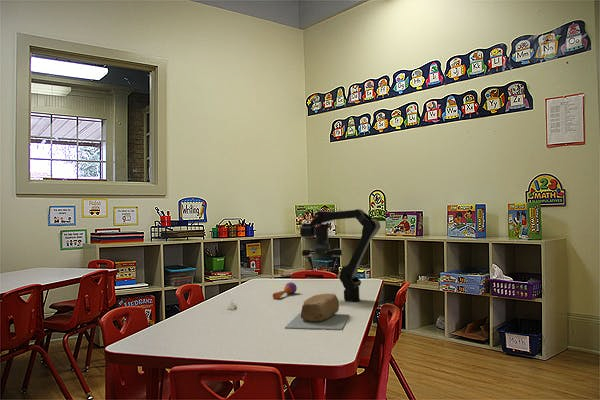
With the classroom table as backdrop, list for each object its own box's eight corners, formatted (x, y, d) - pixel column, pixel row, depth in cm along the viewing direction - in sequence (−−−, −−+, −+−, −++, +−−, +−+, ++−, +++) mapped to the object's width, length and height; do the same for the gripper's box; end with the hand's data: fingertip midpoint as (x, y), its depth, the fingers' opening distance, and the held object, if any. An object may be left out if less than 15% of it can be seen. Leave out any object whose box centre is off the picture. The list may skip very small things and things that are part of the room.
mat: (349, 315, 191) (349, 314, 191) (341, 329, 168) (341, 328, 168) (298, 314, 195) (298, 313, 195) (284, 328, 172) (284, 327, 172)
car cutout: (226, 308, 215) (226, 297, 215) (241, 308, 214) (241, 297, 214) (215, 315, 200) (214, 304, 201) (230, 315, 199) (230, 304, 199)
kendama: (268, 291, 233) (286, 282, 251) (271, 303, 233) (289, 293, 251) (279, 289, 230) (297, 280, 249) (282, 301, 230) (299, 291, 249)
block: (340, 293, 194) (322, 303, 176) (340, 312, 194) (322, 324, 176) (314, 292, 199) (294, 302, 180) (315, 310, 199) (295, 322, 180)
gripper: (299, 238, 225) (299, 272, 225) (339, 238, 222) (340, 272, 221) (303, 237, 236) (304, 270, 236) (342, 237, 233) (343, 270, 232)
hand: (322, 270), depth 231 cm, fingers open, 9 cm apart
